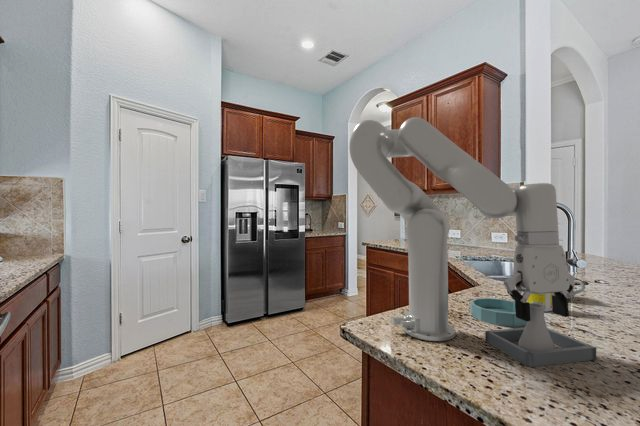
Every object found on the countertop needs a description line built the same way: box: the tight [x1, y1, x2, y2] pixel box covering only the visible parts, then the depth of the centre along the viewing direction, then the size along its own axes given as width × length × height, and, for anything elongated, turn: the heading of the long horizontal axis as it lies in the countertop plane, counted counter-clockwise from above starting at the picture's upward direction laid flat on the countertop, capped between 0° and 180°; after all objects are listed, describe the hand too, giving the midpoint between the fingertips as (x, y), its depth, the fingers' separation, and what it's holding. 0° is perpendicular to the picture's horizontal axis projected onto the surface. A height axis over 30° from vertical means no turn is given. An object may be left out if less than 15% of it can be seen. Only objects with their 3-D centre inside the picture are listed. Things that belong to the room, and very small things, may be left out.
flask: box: [517, 303, 556, 352], centre depth 65 cm, size 7×7×10 cm
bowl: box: [469, 297, 527, 328], centre depth 86 cm, size 15×15×4 cm
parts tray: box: [484, 327, 597, 368], centre depth 65 cm, size 16×12×2 cm
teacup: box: [552, 279, 586, 300], centre depth 104 cm, size 14×11×8 cm
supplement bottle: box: [527, 293, 553, 313], centre depth 94 cm, size 7×7×13 cm
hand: (542, 317), depth 65 cm, fingers open, 9 cm apart
